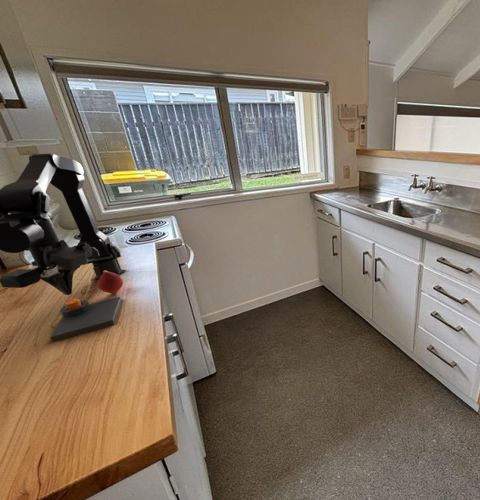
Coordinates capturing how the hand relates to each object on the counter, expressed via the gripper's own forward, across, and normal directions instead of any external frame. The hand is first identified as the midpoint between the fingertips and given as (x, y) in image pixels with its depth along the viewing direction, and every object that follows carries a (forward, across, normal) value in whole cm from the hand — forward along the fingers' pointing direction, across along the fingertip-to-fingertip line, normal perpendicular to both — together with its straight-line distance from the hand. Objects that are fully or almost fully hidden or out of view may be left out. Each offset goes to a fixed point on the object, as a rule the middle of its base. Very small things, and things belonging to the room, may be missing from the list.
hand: (68, 294), depth 75 cm
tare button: (+4, 0, 0) cm, 4 cm away
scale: (+7, -1, -6) cm, 9 cm away
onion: (+7, +12, +1) cm, 14 cm away
